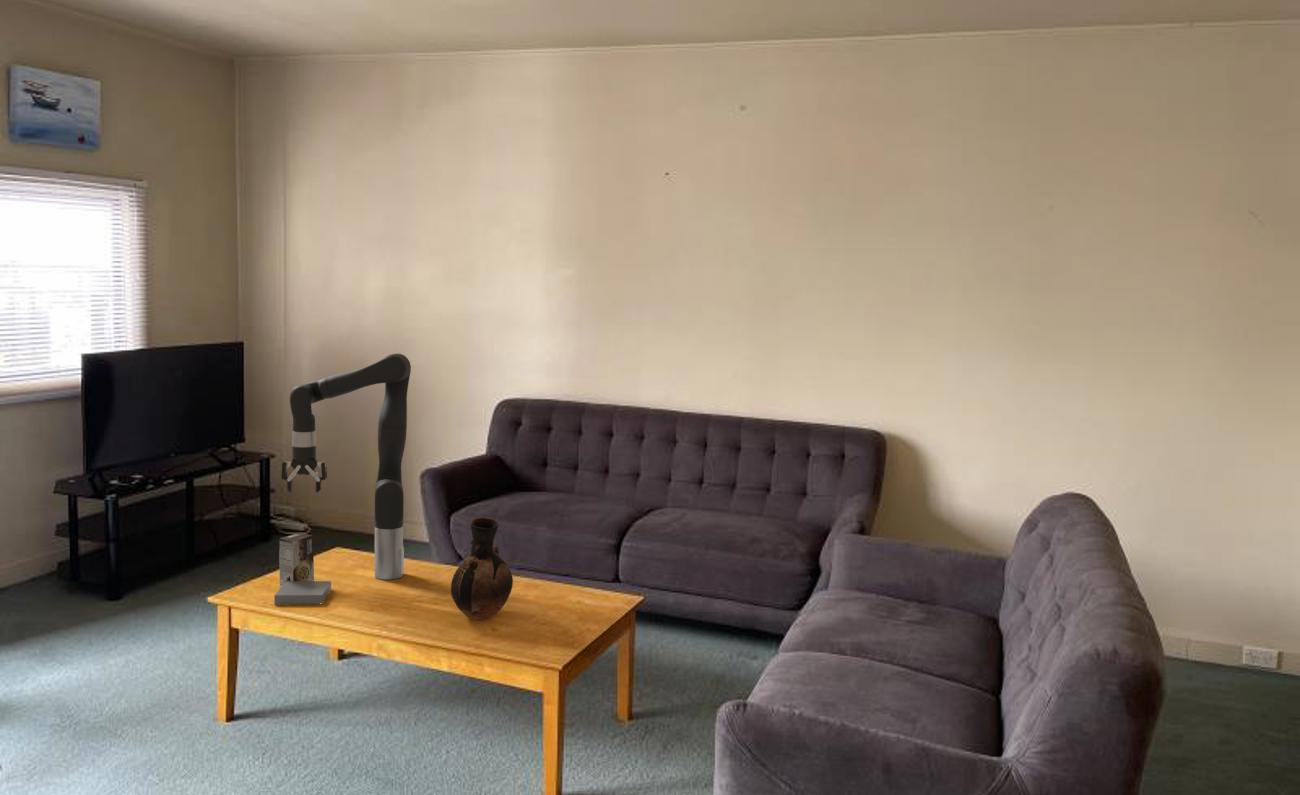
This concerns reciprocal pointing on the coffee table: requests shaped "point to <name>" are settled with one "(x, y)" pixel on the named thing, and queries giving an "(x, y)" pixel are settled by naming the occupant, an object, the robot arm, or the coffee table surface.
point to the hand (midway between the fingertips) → (304, 492)
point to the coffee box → (296, 558)
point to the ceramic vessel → (482, 574)
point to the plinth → (302, 592)
